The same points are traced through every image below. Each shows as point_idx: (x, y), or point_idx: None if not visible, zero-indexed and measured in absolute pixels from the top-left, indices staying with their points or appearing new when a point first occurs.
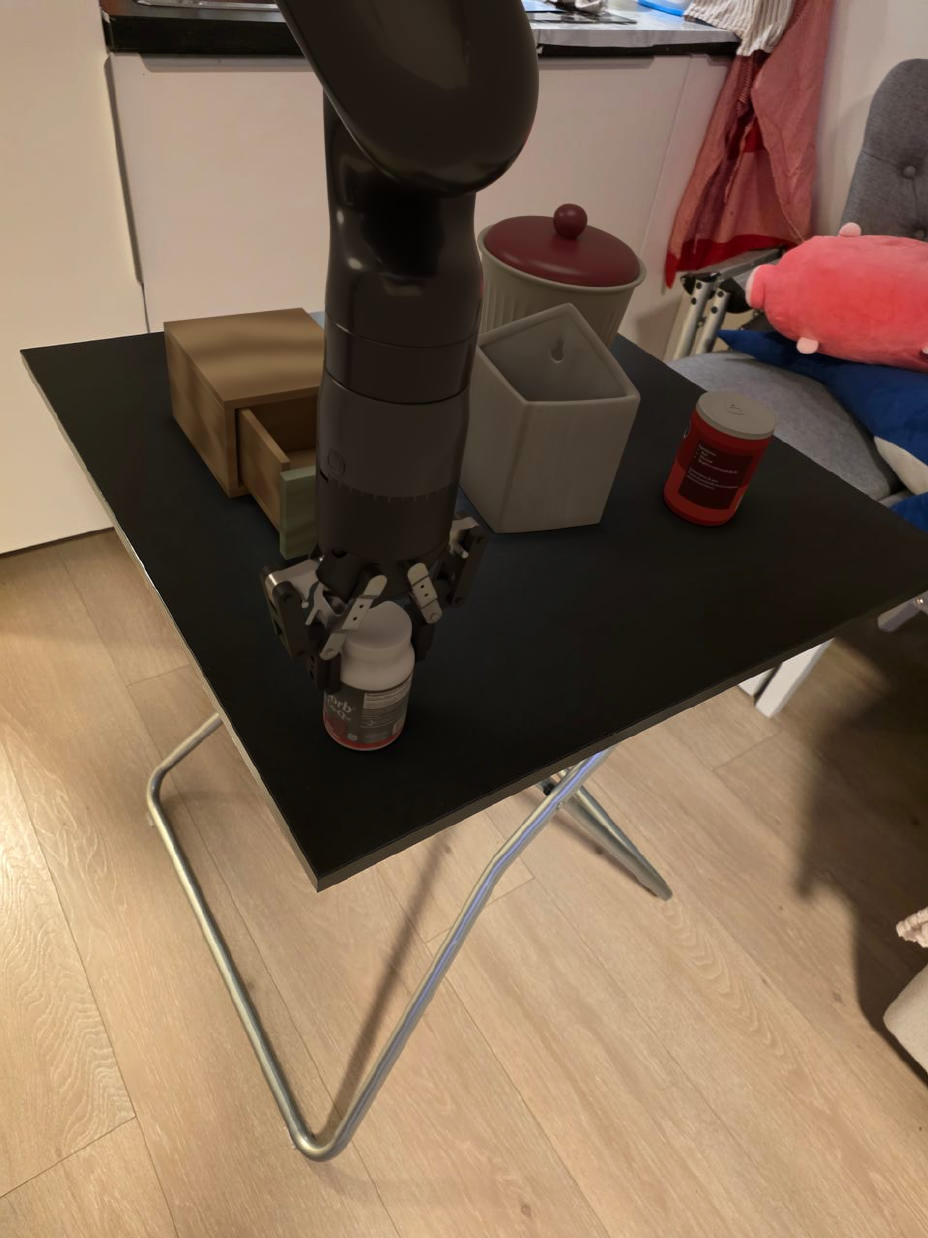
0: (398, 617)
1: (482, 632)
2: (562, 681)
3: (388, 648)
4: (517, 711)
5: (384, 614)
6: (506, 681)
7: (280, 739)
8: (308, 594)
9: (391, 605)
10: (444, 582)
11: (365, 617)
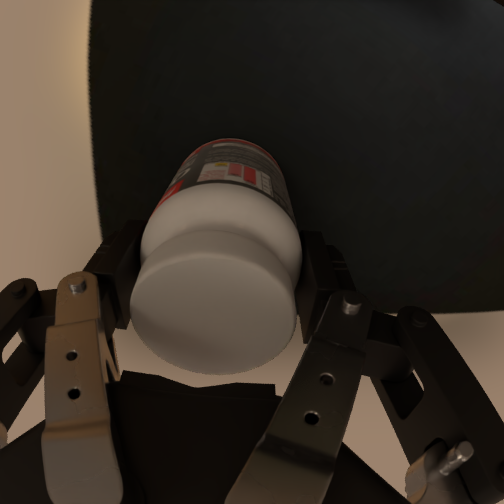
0: (268, 334)
1: (456, 152)
2: (455, 256)
3: (203, 373)
4: (393, 263)
5: (245, 318)
6: (418, 227)
7: (125, 165)
8: (5, 442)
9: (278, 304)
10: (401, 359)
11: (198, 310)
